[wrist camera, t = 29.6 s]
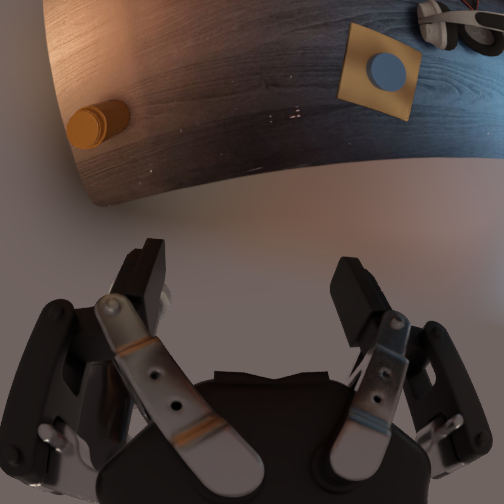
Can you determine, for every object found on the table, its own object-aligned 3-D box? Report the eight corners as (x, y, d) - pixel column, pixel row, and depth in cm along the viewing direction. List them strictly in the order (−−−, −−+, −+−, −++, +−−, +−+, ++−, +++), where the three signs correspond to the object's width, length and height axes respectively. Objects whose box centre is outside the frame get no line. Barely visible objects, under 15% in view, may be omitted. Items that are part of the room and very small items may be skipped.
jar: (133, 129, 34) (106, 145, 26) (101, 138, 34) (69, 157, 26) (126, 94, 31) (96, 101, 23) (94, 105, 31) (59, 116, 23)
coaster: (405, 121, 34) (407, 121, 34) (336, 97, 33) (337, 98, 32) (419, 53, 28) (422, 53, 27) (350, 22, 26) (351, 22, 26)
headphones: (472, 14, 21) (558, 20, 5) (482, 55, 26) (569, 76, 9) (389, 1, 23) (485, -21, 7) (404, 50, 28) (507, 57, 12)
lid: (371, 46, 28) (377, 45, 26) (404, 63, 29) (410, 63, 27) (361, 81, 31) (366, 81, 29) (394, 96, 32) (400, 97, 30)
